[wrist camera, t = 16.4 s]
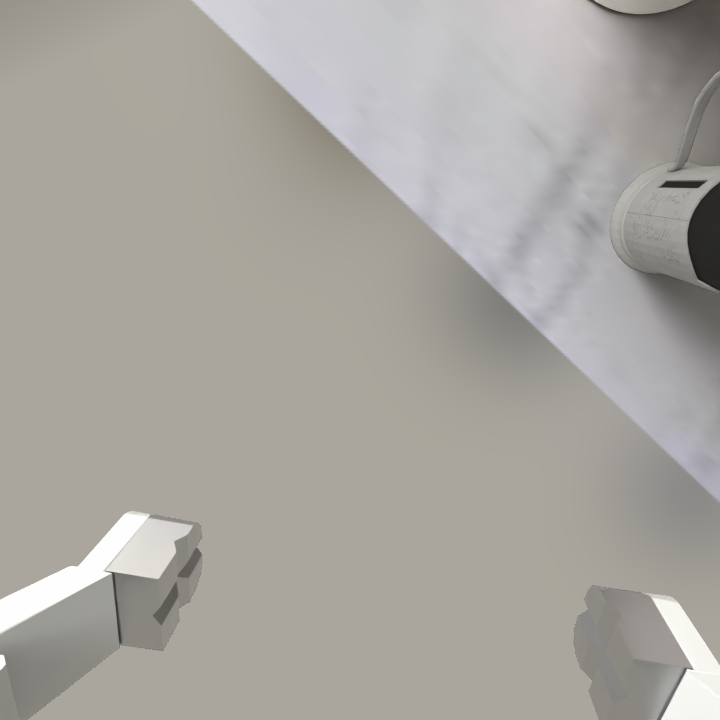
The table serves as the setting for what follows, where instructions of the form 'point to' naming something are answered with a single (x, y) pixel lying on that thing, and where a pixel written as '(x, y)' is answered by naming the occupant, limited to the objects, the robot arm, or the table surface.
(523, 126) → the table surface
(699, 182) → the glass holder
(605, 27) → the table surface
